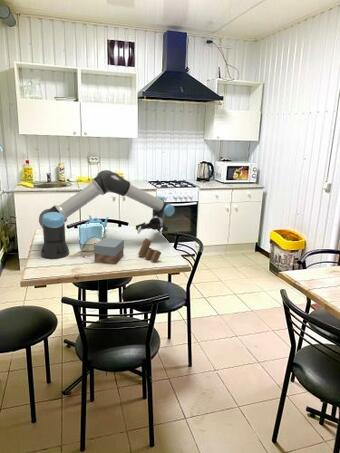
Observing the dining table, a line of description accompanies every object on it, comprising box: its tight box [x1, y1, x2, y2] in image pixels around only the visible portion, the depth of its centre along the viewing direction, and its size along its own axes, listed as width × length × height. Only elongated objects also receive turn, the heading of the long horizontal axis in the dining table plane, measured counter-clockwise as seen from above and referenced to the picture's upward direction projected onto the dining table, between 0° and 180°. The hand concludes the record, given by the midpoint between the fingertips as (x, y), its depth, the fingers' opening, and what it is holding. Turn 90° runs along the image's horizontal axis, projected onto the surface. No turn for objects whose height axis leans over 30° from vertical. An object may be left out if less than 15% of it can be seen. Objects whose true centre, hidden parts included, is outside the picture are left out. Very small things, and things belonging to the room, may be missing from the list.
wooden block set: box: [138, 238, 162, 263], centre depth 196 cm, size 18×9×10 cm, turn 26°
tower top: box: [93, 237, 125, 256], centre depth 191 cm, size 12×14×5 cm
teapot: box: [84, 215, 109, 231], centre depth 239 cm, size 15×15×10 cm
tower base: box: [94, 248, 124, 265], centre depth 192 cm, size 12×14×5 cm
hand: (149, 232), depth 206 cm, fingers open, 13 cm apart
